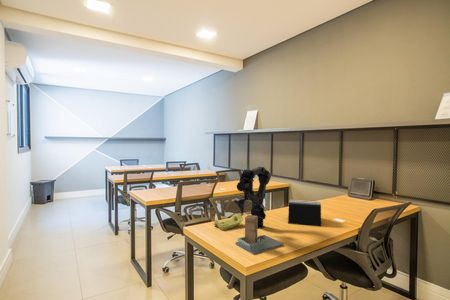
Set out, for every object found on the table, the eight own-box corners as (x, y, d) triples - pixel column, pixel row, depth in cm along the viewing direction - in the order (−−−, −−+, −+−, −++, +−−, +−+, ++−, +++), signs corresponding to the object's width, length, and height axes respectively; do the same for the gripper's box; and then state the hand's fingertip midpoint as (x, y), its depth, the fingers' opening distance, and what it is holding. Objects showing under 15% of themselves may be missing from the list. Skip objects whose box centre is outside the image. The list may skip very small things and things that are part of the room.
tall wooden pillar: (248, 240, 147) (248, 214, 147) (257, 242, 145) (257, 216, 144) (244, 243, 142) (245, 217, 142) (254, 245, 140) (254, 218, 140)
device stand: (321, 227, 176) (321, 205, 176) (288, 223, 183) (288, 203, 183) (319, 218, 198) (319, 199, 197) (290, 215, 205) (290, 197, 204)
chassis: (264, 236, 156) (264, 231, 156) (283, 245, 143) (283, 239, 143) (235, 244, 144) (235, 238, 144) (253, 254, 131) (253, 248, 131)
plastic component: (222, 227, 167) (214, 217, 174) (220, 235, 170) (213, 226, 177) (245, 220, 178) (237, 211, 185) (243, 228, 181) (235, 219, 188)
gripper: (244, 192, 151) (244, 218, 151) (267, 189, 161) (267, 213, 161) (233, 189, 160) (233, 214, 161) (256, 187, 170) (256, 210, 171)
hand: (248, 213), depth 163 cm, fingers open, 9 cm apart
